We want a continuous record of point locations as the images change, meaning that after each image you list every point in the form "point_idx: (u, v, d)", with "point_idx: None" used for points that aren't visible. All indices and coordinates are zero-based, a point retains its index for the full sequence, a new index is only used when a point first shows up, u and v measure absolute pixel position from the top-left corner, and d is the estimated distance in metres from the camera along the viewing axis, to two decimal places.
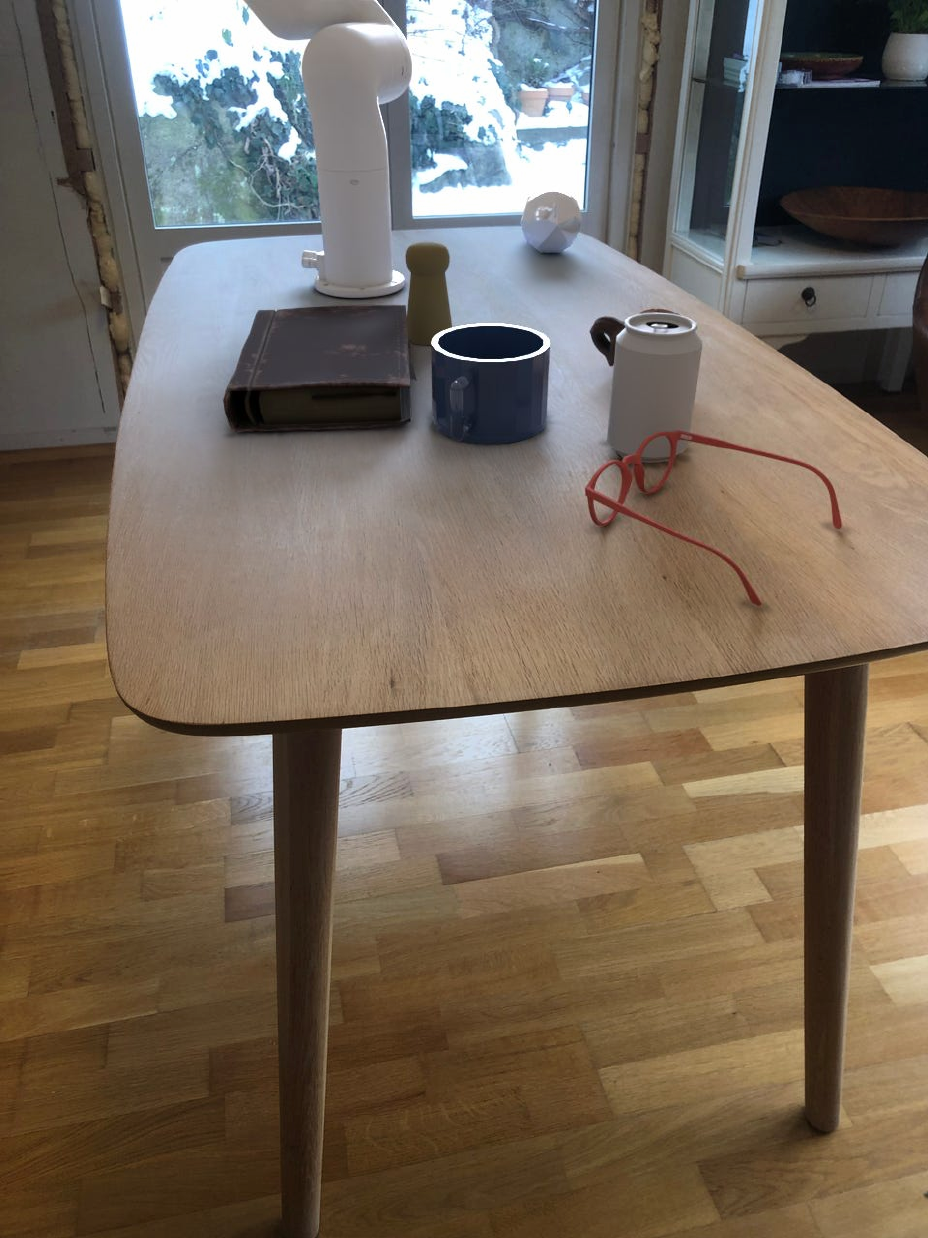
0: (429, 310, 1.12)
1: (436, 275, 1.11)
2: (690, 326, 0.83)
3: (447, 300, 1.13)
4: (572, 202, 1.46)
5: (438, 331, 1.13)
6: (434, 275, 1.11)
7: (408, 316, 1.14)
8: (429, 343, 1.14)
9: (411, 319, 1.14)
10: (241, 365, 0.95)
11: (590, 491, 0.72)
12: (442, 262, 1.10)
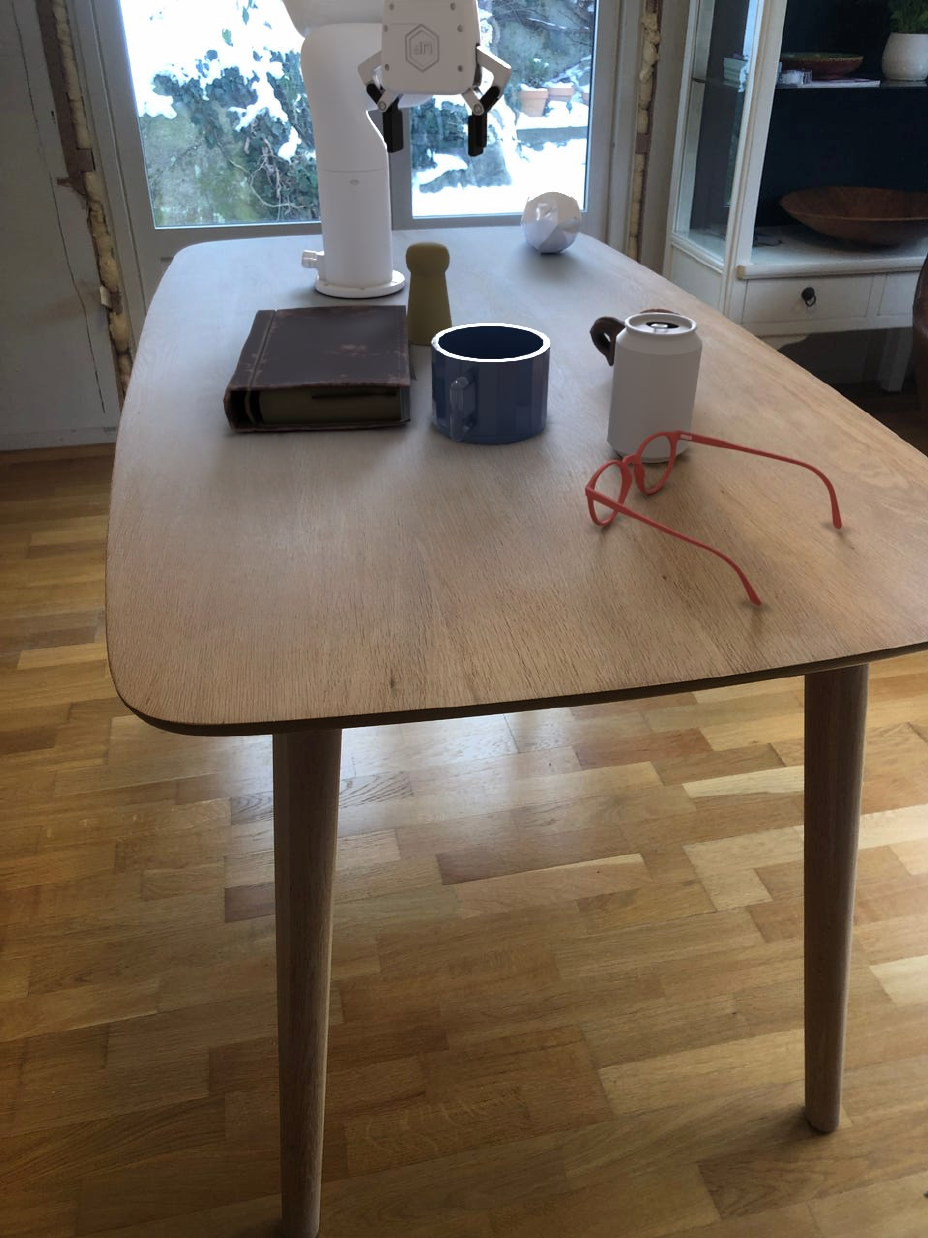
0: (429, 310, 1.12)
1: (436, 275, 1.11)
2: (690, 326, 0.83)
3: (447, 300, 1.13)
4: (572, 202, 1.46)
5: (438, 331, 1.13)
6: (434, 275, 1.10)
7: (408, 316, 1.14)
8: (429, 343, 1.14)
9: (411, 319, 1.14)
10: (241, 365, 0.95)
11: (590, 491, 0.72)
12: (442, 262, 1.10)
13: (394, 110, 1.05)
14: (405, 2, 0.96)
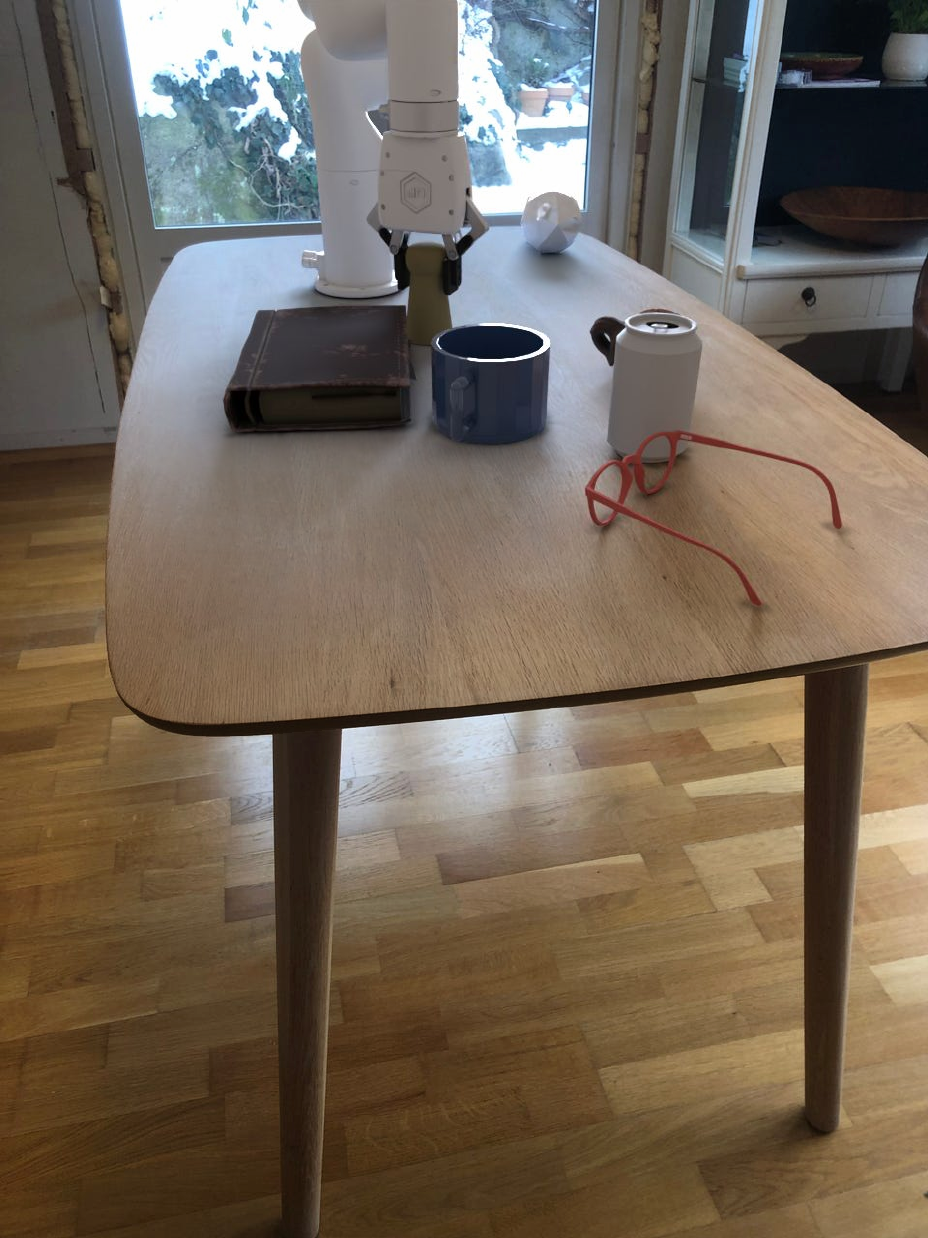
0: (429, 310, 1.12)
1: (436, 275, 1.11)
2: (690, 326, 0.83)
3: (447, 300, 1.13)
4: (572, 202, 1.46)
5: (438, 331, 1.13)
6: (434, 275, 1.10)
7: (408, 316, 1.14)
8: (429, 343, 1.14)
9: (411, 319, 1.14)
10: (241, 365, 0.95)
11: (590, 491, 0.72)
12: (442, 262, 1.10)
13: (405, 252, 1.12)
14: (400, 152, 1.03)
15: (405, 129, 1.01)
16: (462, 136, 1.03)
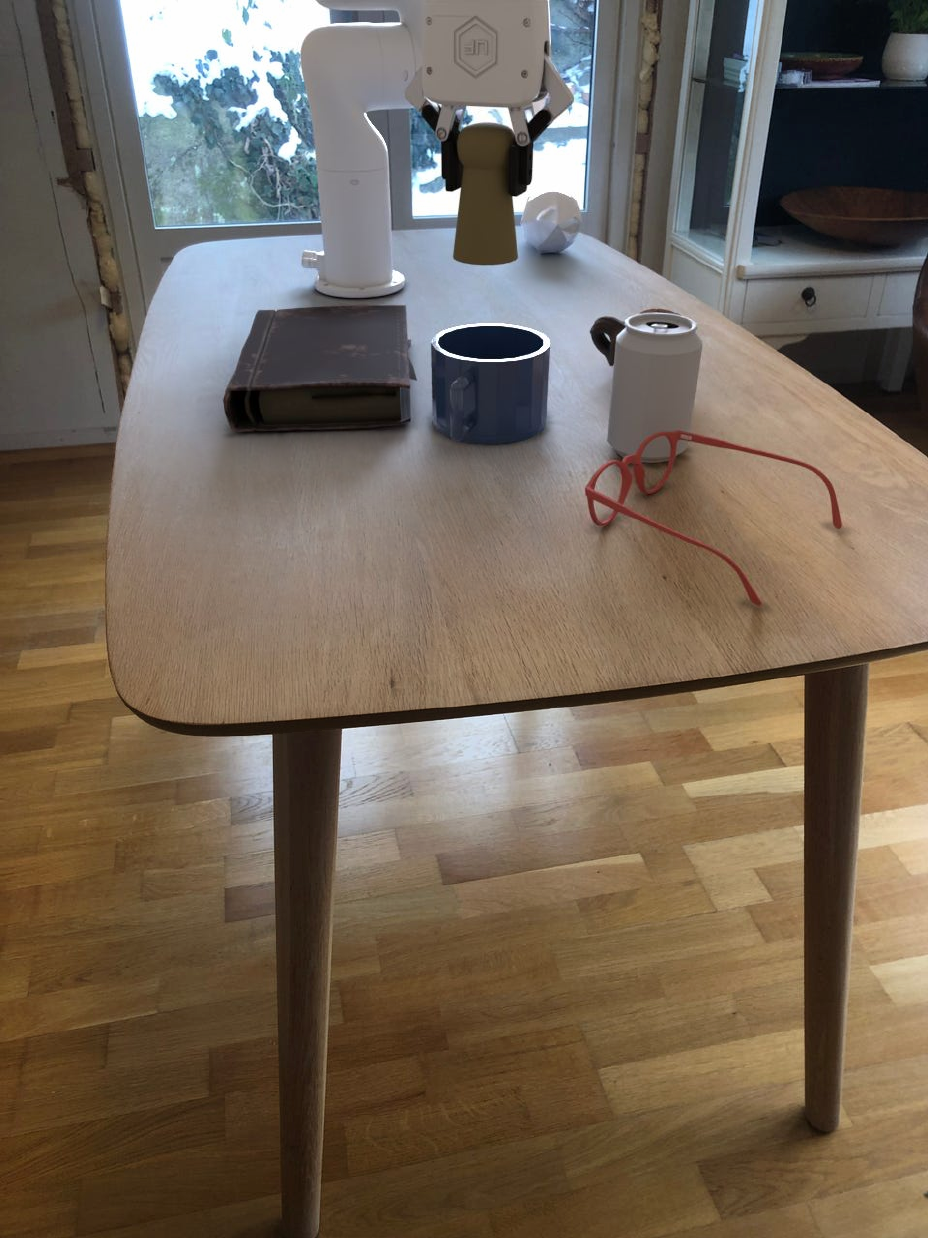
0: (488, 216, 0.84)
1: (498, 168, 0.82)
2: (690, 326, 0.83)
3: (511, 205, 0.85)
4: (572, 202, 1.46)
5: (499, 246, 0.85)
6: (496, 168, 0.82)
7: (459, 227, 0.85)
8: (487, 263, 0.85)
9: (463, 230, 0.85)
10: (241, 365, 0.95)
11: (590, 491, 0.72)
12: (507, 150, 0.81)
13: (456, 139, 0.83)
14: None
15: None
16: None
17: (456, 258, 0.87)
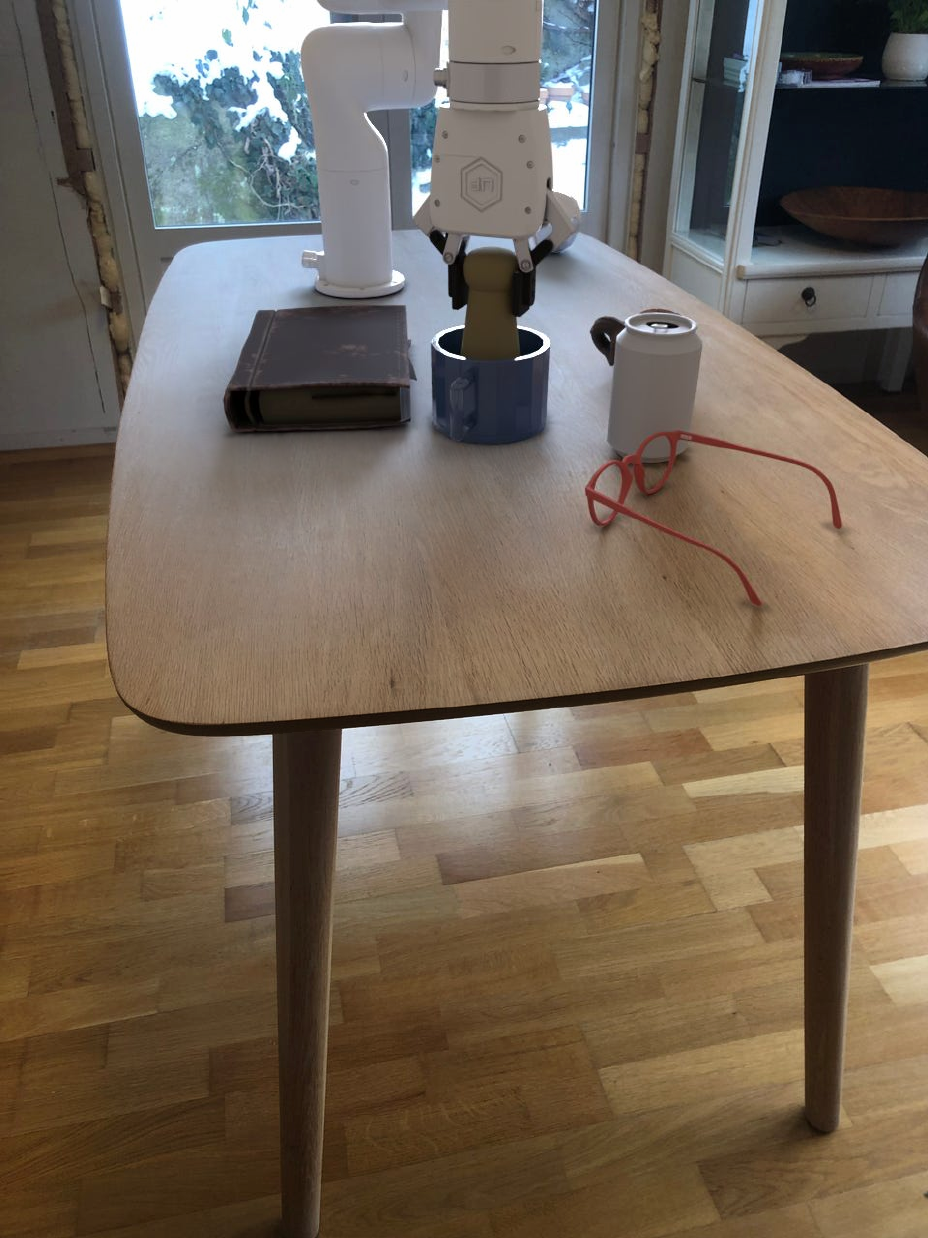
0: (493, 335, 0.87)
1: (503, 291, 0.86)
2: (690, 326, 0.83)
3: (515, 322, 0.88)
4: (572, 202, 1.46)
5: None
6: (501, 291, 0.86)
7: (465, 342, 0.89)
8: None
9: (469, 346, 0.89)
10: (241, 365, 0.95)
11: (590, 491, 0.72)
12: (512, 275, 0.85)
13: (462, 261, 0.87)
14: (462, 130, 0.78)
15: (471, 100, 0.76)
16: (544, 110, 0.78)
17: None
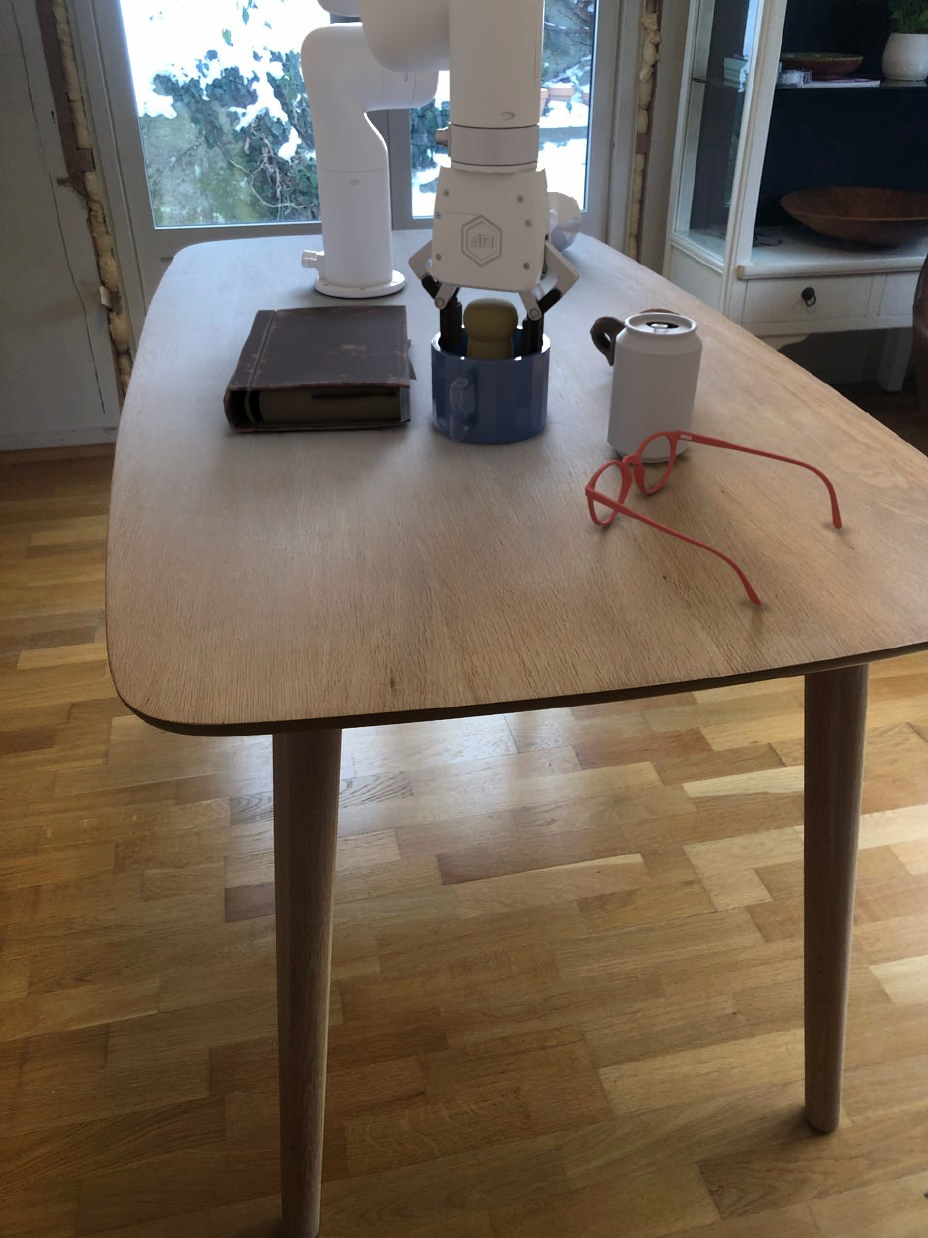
0: None
1: (501, 341, 0.88)
2: (690, 326, 0.83)
3: None
4: (572, 202, 1.46)
5: None
6: (499, 341, 0.88)
7: None
8: None
9: None
10: (241, 365, 0.95)
11: (590, 491, 0.72)
12: (510, 326, 0.88)
13: (453, 305, 0.89)
14: (463, 190, 0.81)
15: (471, 162, 0.79)
16: (542, 170, 0.80)
17: None
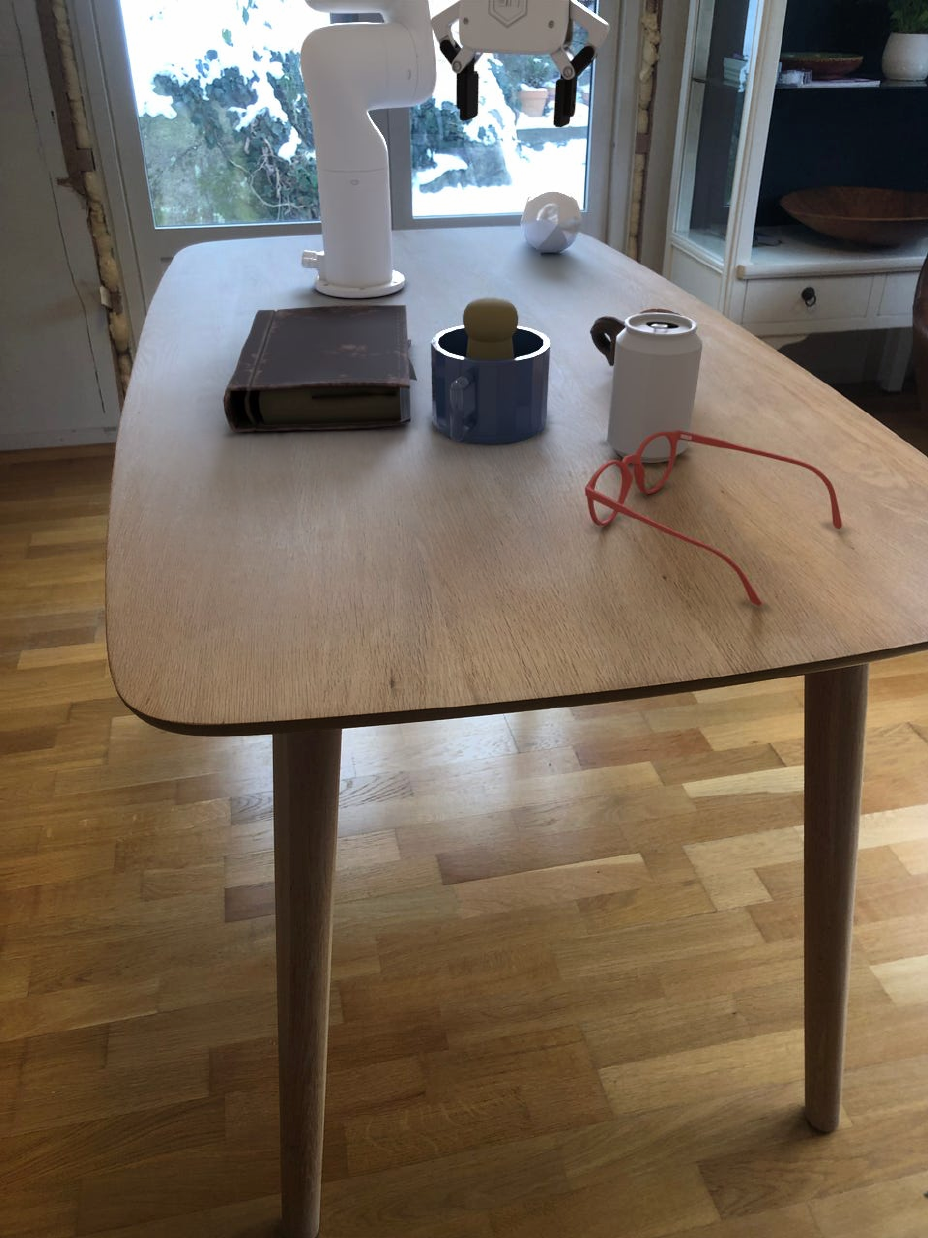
0: None
1: (501, 341, 0.88)
2: (690, 326, 0.83)
3: None
4: (572, 202, 1.46)
5: None
6: (499, 341, 0.88)
7: None
8: None
9: None
10: (241, 365, 0.95)
11: (590, 491, 0.72)
12: (510, 326, 0.88)
13: (470, 71, 0.92)
14: None
15: None
16: None
17: None
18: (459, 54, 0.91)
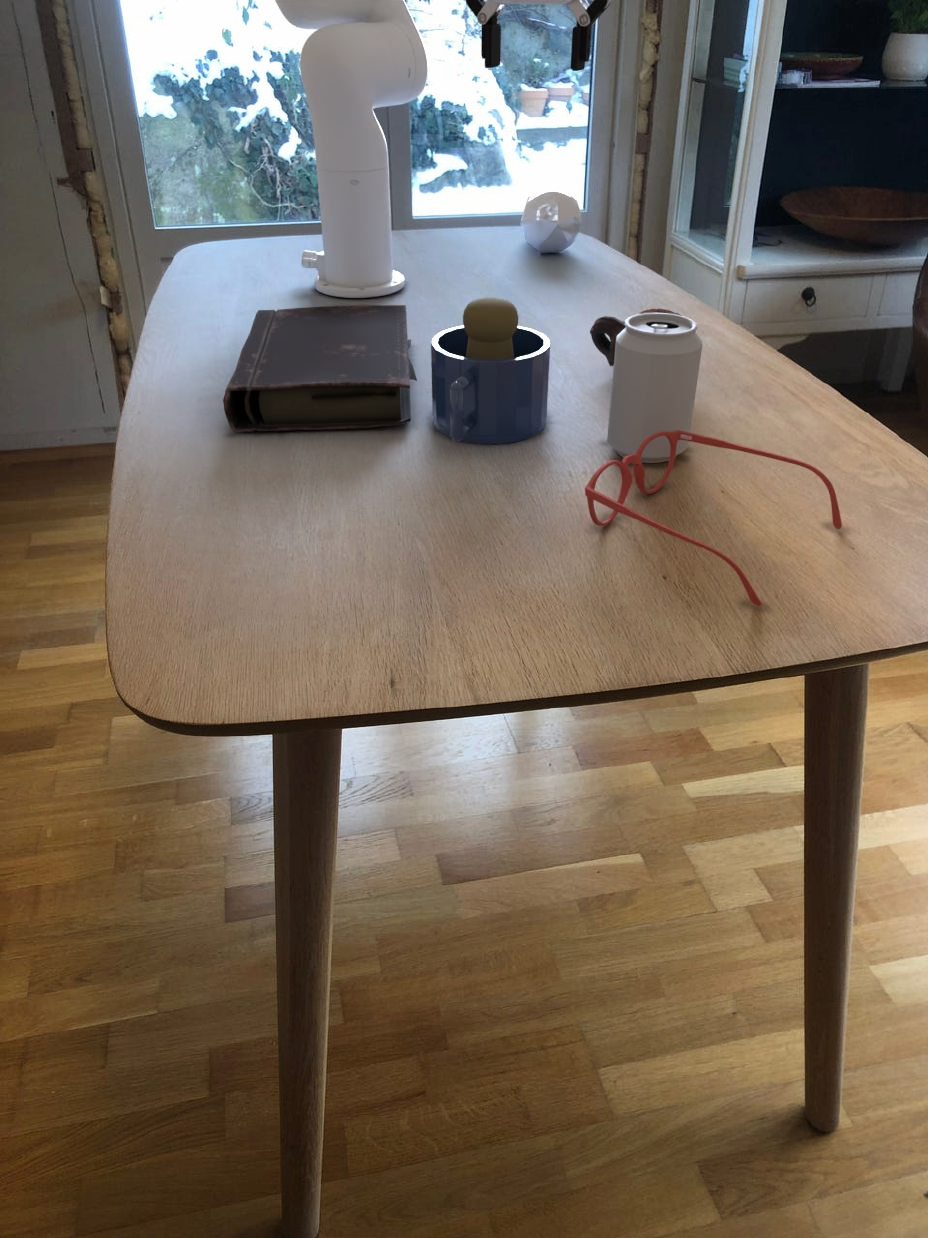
0: None
1: (501, 341, 0.88)
2: (690, 326, 0.83)
3: None
4: (572, 202, 1.46)
5: None
6: (499, 341, 0.88)
7: None
8: None
9: None
10: (241, 365, 0.95)
11: (590, 491, 0.72)
12: (510, 326, 0.88)
13: (494, 23, 1.02)
14: None
15: None
16: None
17: None
18: (484, 6, 1.00)
